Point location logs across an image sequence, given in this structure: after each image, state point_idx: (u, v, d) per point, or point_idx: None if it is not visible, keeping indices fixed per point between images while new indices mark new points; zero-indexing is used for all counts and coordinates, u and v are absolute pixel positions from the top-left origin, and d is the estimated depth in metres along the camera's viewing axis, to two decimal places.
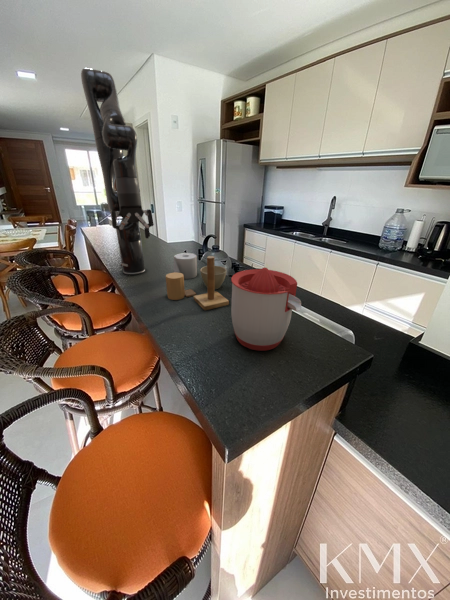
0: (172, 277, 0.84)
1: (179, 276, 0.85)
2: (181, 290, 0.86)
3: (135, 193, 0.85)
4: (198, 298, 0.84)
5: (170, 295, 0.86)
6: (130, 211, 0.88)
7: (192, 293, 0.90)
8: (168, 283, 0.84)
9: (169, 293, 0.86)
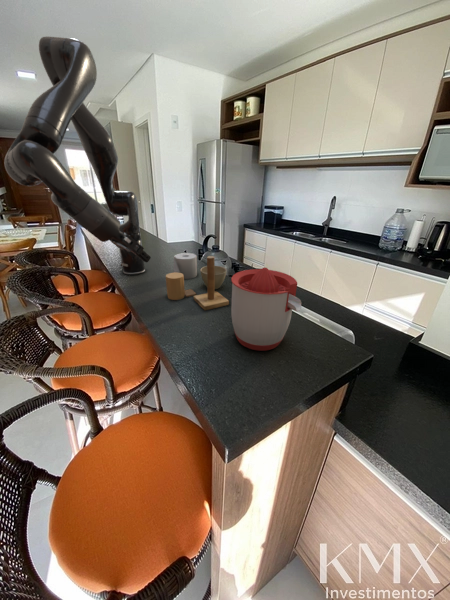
0: (172, 277, 0.84)
1: (179, 276, 0.85)
2: (181, 290, 0.86)
3: (92, 231, 0.63)
4: (198, 298, 0.84)
5: (170, 295, 0.86)
6: (112, 238, 0.70)
7: (192, 293, 0.90)
8: (168, 283, 0.84)
9: (169, 293, 0.86)
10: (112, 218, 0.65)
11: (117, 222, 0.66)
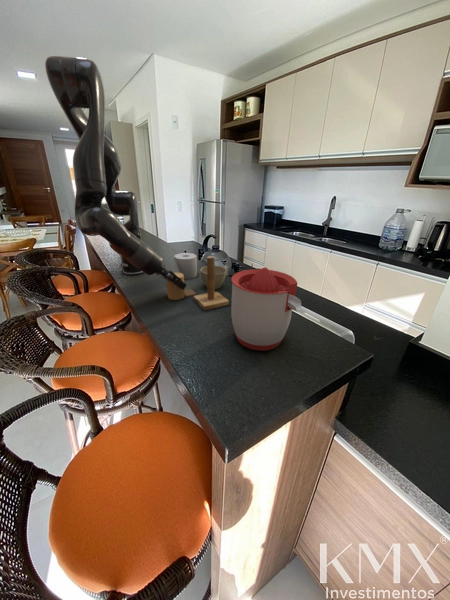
0: None
1: (179, 276, 0.85)
2: (181, 290, 0.86)
3: (140, 268, 0.75)
4: (198, 298, 0.84)
5: (170, 295, 0.86)
6: None
7: (192, 293, 0.90)
8: (168, 283, 0.84)
9: (169, 293, 0.86)
10: (156, 256, 0.76)
11: (160, 258, 0.77)
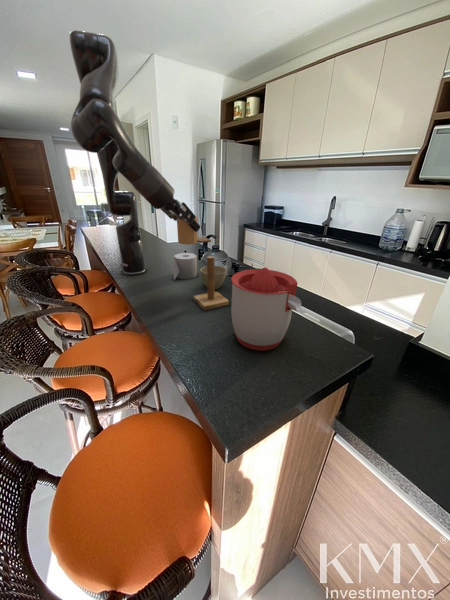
0: None
1: None
2: (194, 233, 0.75)
3: (148, 197, 0.64)
4: (198, 298, 0.84)
5: (181, 239, 0.76)
6: (165, 206, 0.70)
7: (206, 239, 0.80)
8: (179, 224, 0.74)
9: (180, 236, 0.75)
10: (167, 184, 0.65)
11: (171, 189, 0.67)
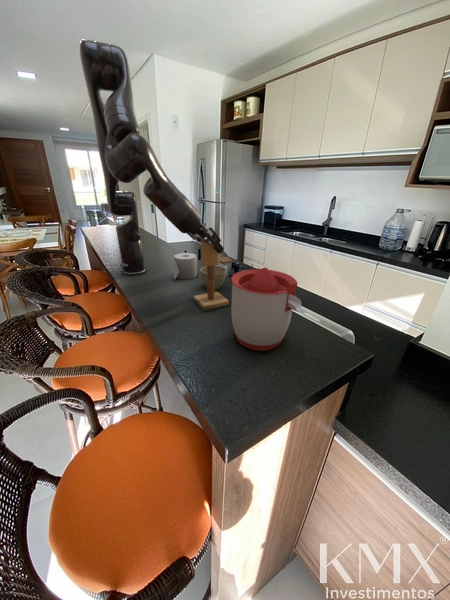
0: None
1: None
2: (218, 255, 0.76)
3: (177, 223, 0.65)
4: (198, 298, 0.84)
5: (205, 260, 0.76)
6: None
7: (228, 260, 0.80)
8: (204, 246, 0.74)
9: (204, 258, 0.76)
10: (195, 210, 0.66)
11: (198, 214, 0.67)
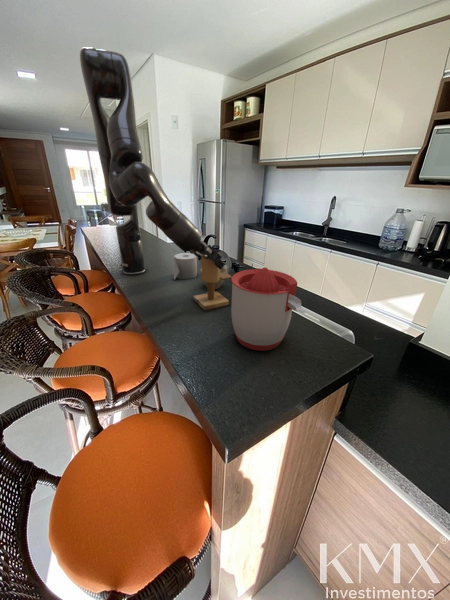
0: None
1: None
2: (218, 272, 0.79)
3: (178, 242, 0.67)
4: (198, 298, 0.84)
5: (205, 277, 0.79)
6: None
7: (228, 276, 0.83)
8: (204, 264, 0.77)
9: (204, 275, 0.79)
10: (195, 229, 0.68)
11: (199, 233, 0.69)
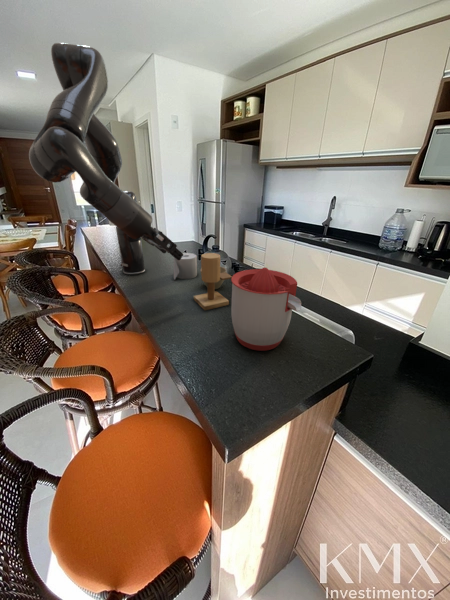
0: (209, 257, 0.76)
1: (216, 256, 0.77)
2: (218, 272, 0.79)
3: (123, 228, 0.58)
4: (198, 298, 0.84)
5: (205, 277, 0.79)
6: (143, 234, 0.64)
7: (228, 276, 0.83)
8: (204, 264, 0.77)
9: (204, 275, 0.79)
10: (144, 213, 0.59)
11: (149, 217, 0.60)
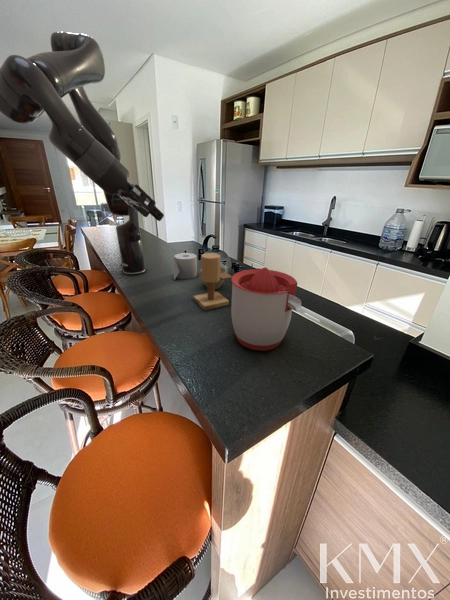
0: (209, 257, 0.76)
1: (216, 256, 0.77)
2: (218, 272, 0.79)
3: (97, 180, 0.55)
4: (198, 298, 0.84)
5: (205, 277, 0.79)
6: (121, 192, 0.61)
7: (228, 276, 0.83)
8: (204, 264, 0.77)
9: (204, 275, 0.79)
10: (119, 165, 0.56)
11: (125, 171, 0.58)
